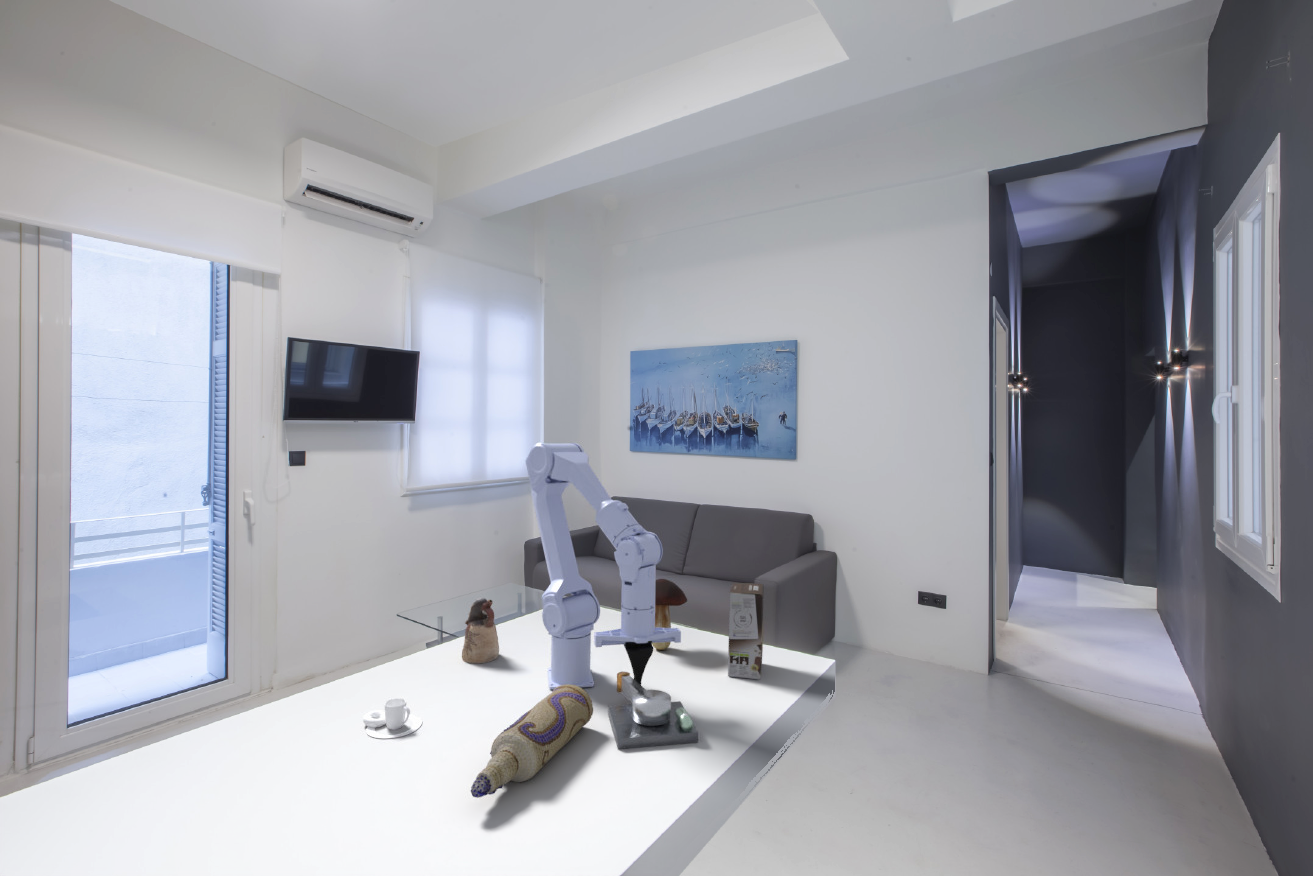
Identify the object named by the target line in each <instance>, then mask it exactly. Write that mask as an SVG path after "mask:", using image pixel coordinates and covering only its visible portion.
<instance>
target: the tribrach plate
mask: <svg viewBox="0 0 1313 876" xmlns="http://www.w3.org/2000/svg"><path fill="white" fill-rule="evenodd" d="M607 717H608V721H609V723H610V727H611V730H612V734H613V738H614V741H615V744H616V748H617V750H623V749H635V748H647V747H648V748H649V747H657V746H658V747H659V746H660V747H661V746H671V745H679V744H680V745H682V744H694V743H696V744H697V743H698V742H699V732H698V728H696V726H695V723H694V722H693V720H692V718H691V716H690V715H689V713H688V711H687V709H685V706H684V705H683V703H682V702H681V701H680V700H679V701H671V718H670V720H669V721H668V722H667V723H665V724H662V725H657V726H647V725H642V724H639V723H637V722H635V721H634V720H633V719H632V704H624V705H623V704H622V705H610V706H608V708H607Z"/></svg>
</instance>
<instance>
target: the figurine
mask: <svg viewBox="0 0 1313 876" xmlns="http://www.w3.org/2000/svg"><path fill="white" fill-rule="evenodd" d="M492 605H493V600H492V599H488V600H487V599H486V598H485V597H480V598H477V599H476V600H475V601H474V602H473V603H472V604H471V606H470V610H469V613H468V618H467V620H465V622H464V624H465V625H467V626H466V628H465V631H464V641H463V642H464V643H463V646H462V651H461V659H462V662H465V663H469V664H483V663H489V662H492V661H495V660H497V659H498V657H499V655H500V643H499V637H498V632H497V626H496V624H495V621H494V620H495V612H494V610H493V608H492Z"/></svg>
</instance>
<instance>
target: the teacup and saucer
mask: <svg viewBox="0 0 1313 876" xmlns="http://www.w3.org/2000/svg"><path fill="white" fill-rule="evenodd" d="M408 720H410V721H412V723H413V725H412V726H411V728H410V729H408V730H407V731H403V732H401V733H397V734H380V733H378V732H377V731H376V728H380V727H383V726H385V725H386V727H387V729H388V730H399V729H401V728H402V727H403V726H404V725H405V724H406V723H407V721H408ZM362 722H363V723H364V725H365V726H366V729H365V733H366V734H367V735H368V736H369V737H371V738H375V739H381V740H384V739H385V740H387V739H388V740H390V739H397V738H401V737H405V736H407V735H410V734H412V733H414V732H415V731H417V730H419V729H420V728H421V727H422V725H423V721H422V719H421V717H419V716H416V715H414V714H411V710H410V708H409V707H408V706H407V699H405V698H401V697H399V698H397V697H396V698H393V699H392V698H391V699H388V700H387V701H385V703H384V710H371V711H369V712H367V713H366V714H364V715H363V717H362Z"/></svg>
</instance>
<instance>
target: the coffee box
mask: <svg viewBox="0 0 1313 876" xmlns="http://www.w3.org/2000/svg"><path fill="white" fill-rule="evenodd" d="M728 617H729V619H728V647H727V648H728V651H727V653H728V654H727V657H728V659H727V661H728V662H727V677H730V678H731V677H733V678H742V679H750V680H751V679H752V680H760V679H761V676H762V667H763V648H764V647H763V646H764V645H763V643H764V642H763V641H764V584H763V583H751V582H746V583H745V582H743V583H742V582H741V583H740V582H733V583H732V584H731V587H730V590H729V615H728Z"/></svg>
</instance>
